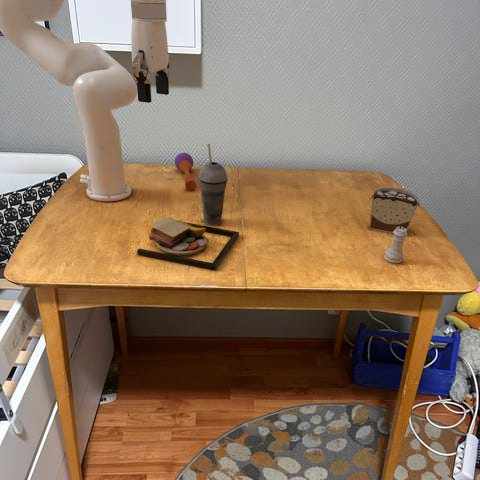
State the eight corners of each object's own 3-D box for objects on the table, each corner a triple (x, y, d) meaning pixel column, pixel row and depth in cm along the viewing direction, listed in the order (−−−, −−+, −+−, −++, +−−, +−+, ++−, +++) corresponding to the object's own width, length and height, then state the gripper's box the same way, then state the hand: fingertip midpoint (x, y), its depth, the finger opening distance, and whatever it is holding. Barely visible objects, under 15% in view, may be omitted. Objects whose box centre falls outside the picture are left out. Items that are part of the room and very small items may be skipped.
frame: (137, 254, 108) (137, 250, 107) (169, 223, 122) (169, 219, 121) (214, 270, 104) (215, 265, 103) (238, 236, 118) (239, 231, 117)
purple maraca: (179, 178, 137) (172, 151, 151) (183, 196, 141) (176, 168, 156) (198, 174, 137) (190, 147, 152) (202, 192, 141) (193, 165, 156)
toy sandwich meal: (182, 263, 106) (182, 244, 103) (141, 244, 112) (139, 226, 109) (217, 244, 114) (218, 226, 111) (177, 227, 120) (176, 210, 117)
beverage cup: (222, 229, 121) (224, 150, 109) (195, 225, 122) (194, 147, 110) (229, 217, 126) (231, 141, 114) (202, 214, 127) (202, 138, 115)
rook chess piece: (380, 255, 114) (388, 224, 109) (398, 255, 114) (407, 224, 109) (386, 264, 110) (395, 233, 105) (405, 264, 110) (414, 233, 106)
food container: (412, 227, 127) (422, 191, 121) (410, 236, 123) (421, 200, 116) (366, 218, 130) (374, 183, 124) (363, 227, 125) (371, 191, 119)
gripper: (150, 9, 109) (155, 89, 119) (113, 13, 96) (122, 103, 106) (180, 12, 108) (182, 92, 118) (147, 16, 94) (152, 107, 105)
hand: (154, 97), depth 112 cm, fingers open, 9 cm apart
